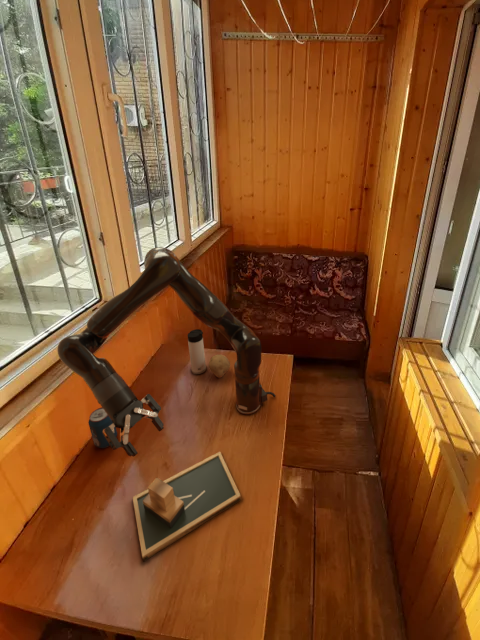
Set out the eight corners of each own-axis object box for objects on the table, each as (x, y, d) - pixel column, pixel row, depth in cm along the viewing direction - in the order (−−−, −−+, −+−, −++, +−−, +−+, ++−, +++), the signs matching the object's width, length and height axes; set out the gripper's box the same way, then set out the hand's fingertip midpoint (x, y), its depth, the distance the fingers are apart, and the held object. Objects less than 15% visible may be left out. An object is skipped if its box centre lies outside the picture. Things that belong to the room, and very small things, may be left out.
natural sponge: (224, 365, 143) (222, 346, 140) (234, 375, 137) (233, 356, 134) (206, 374, 137) (204, 355, 134) (216, 385, 131) (215, 365, 128)
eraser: (144, 509, 85) (139, 487, 82) (159, 492, 89) (154, 470, 86) (170, 529, 81) (166, 506, 78) (184, 510, 85) (181, 487, 82)
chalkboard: (220, 455, 102) (220, 451, 101) (240, 500, 89) (240, 495, 88) (133, 501, 88) (132, 497, 88) (143, 561, 76) (142, 556, 75)
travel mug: (202, 375, 136) (198, 337, 130) (189, 373, 138) (184, 335, 131) (209, 366, 142) (205, 328, 135) (195, 364, 143) (191, 327, 137)
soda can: (120, 430, 110) (114, 404, 106) (113, 448, 104) (107, 421, 100) (99, 433, 109) (92, 407, 105) (91, 451, 102) (83, 424, 98)
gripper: (92, 408, 77) (131, 461, 76) (141, 373, 89) (175, 418, 88) (84, 416, 81) (120, 467, 80) (131, 381, 93) (164, 425, 92)
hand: (149, 441), depth 84 cm, fingers open, 8 cm apart
